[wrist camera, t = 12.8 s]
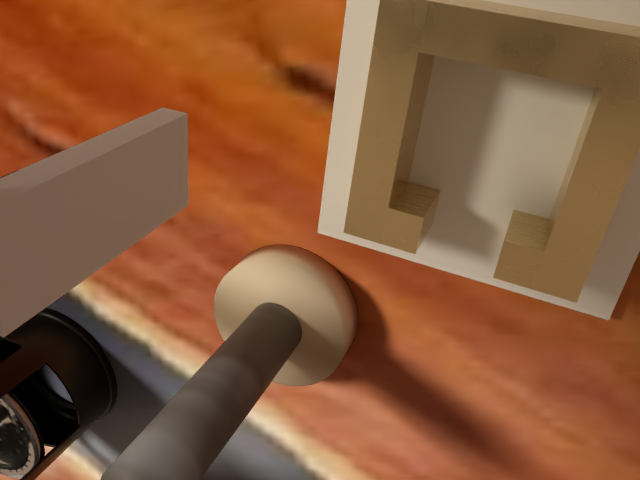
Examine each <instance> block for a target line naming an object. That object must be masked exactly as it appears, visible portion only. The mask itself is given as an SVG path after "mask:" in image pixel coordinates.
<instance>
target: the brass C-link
mask: <svg viewBox="0 0 640 480" xmlns="http://www.w3.org/2000/svg"><path fill="white" fill-rule="evenodd" d="M435 56H440V57H445V58H450V59H455V60H460V61H465V62H470V63H475V64H480V65H485V66H490V67H495V68H500V69H505V70H510V71H515V72H520V73H525V74H530V75H535V76H540V77H545V78H550V79H555V80H560V81H565V82H570V83H575V84H580V85H585V86H590V87H595V90H594V93H593V96H592V99H591V102H590V105H589V108H588V110H587V113H586V116H585V119H584V122H583V125H582V127H581V130H580V133H579V136H578V139H577V142H576V145H575V147H574V150H573V153H572V156H571V159H570V162H569V164H568V167H567V170H566V173H565V176H564V179H563V182H562V184H561V187H560V190H559V193H558V196H557V199H556V201H555V204H554V207H553V210H552V213H551V216H550V219H548V218H544V217H540V216H536V215H533V214H529V213H525V212H521V211H518V210H513V213H512V216H511V219H510V222H509V226H508V229H507V232H506V235H505V238H504V241H503V245H502V248H501V252H500V255H499V258H498V262H497V265H496V269H495V272H494V276H493V278H496V279H499V280H502V281H505V282H509V283H512V284H515V285H519V286H522V287H525V288H529V289H532V290H535V291H539V292H542V293H545V294H549V295H552V296H555V297H559V298H562V299H565V300H569V301H572V302H575V303H577V301H578V298H579V296H580V294H581V291H582V289H583V286H584V284H585V281H586V279H587V276H588V274H589V272H590V269H591V267H592V264H593V262H594V259H595V257H596V255H597V252H598V250H599V247H600V245H601V242H602V240H603V237H604V235H605V233H606V230H607V228H608V225H609V223H610V220H611V218H612V216H613V213H614V211H615V208H616V206H617V203H618V201H619V198H620V196H621V194H622V191H623V189H624V186H625V184H626V181H627V179H628V177H629V174H630V172H631V169H632V167H633V164H634V162H635V159H636V157H637V155H638V152H639V150H640V27H639V26H633V25H627V24H621V23H615V22H609V21H603V20H598V19H592V18H586V17H580V16H574V15H568V14H562V13H556V12H550V11H544V10H538V9H532V8H526V7H520V6H514V5H508V4H503V3H497V2H491V1H485V0H380V3H379V9H378V15H377V22H376V28H375V35H374V41H373V47H372V54H371V60H370V67H369V73H368V79H367V86H366V92H365V99H364V105H363V111H362V118H361V124H360V130H359V137H358V143H357V150H356V156H355V162H354V169H353V175H352V182H351V188H350V194H349V201H348V207H347V214H346V220H345V226H344V233H346V234H349V235H353V236H356V237H359V238H363V239H366V240H369V241H373V242H376V243H379V244H383V245H386V246H389V247H393V248H396V249H399V250H403V251H406V252H409V253H413V254H416V252H417V251H418V249H419V247H420V245H421V244H422V242H423V240H424V238H425V236H426V235H427V233H428V231H429V229H430V228H431V226H432V224H433V220H434V216H435V212H436V208H437V204H438V199H439V195H440V191H441V190H439V189H435V188H431V187H427V186H423V185H420V184H416V183H412V182H408V181H409V177H410V172H411V167H412V162H413V157H414V153H415V148H416V143H417V138H418V133H419V129H420V124H421V119H422V114H423V110H424V105H425V100H426V95H427V90H428V86H429V81H430V76H431V71H432V67H433V62H434V57H435Z"/></svg>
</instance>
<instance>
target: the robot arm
mask: <svg viewBox="0 0 640 480" xmlns="http://www.w3.org/2000/svg"><path fill="white" fill-rule="evenodd" d="M187 206H188V115H187V113H183V112H179V111H175V110H171V109H167V108H161V109H158V110H156V111H154V112H151V113H149V114H147V115H144V116H142V117H140V118H138V119H135V120H133V121H131V122H128V123H126V124H124V125H122V126H119V127H117V128H115V129H112V130H110V131H108V132H105V133H103V134H101V135H99V136H96V137H94V138H92V139H89V140H87V141H85V142H83V143H80V144H78V145H76V146H73V147H71V148H69V149H66V150H64V151H62V152H60V153H57V154H55V155H53V156H50V157H48V158H46V159H44V160H41V161H39V162H37V163H34V164H32V165H30V166H27V167H25V168H23V169H21V170H17V171H15V172H12V173H10V174H8V175H5V176H3V177H1V178H0V336H1V337H5V336H7V335H8V334H10V333H11V332H12V331H14V330H15V329H17V328H18V327H19V326H21V325H22V324H24V323H25V322H26V321H28V320H29V319H31V318H32V317H33V316H35V315H36V314H37V313H39V312H40V311H42V310H43V309H44V308H46V307H47V306H49V305H50V304H51V303H53V302H54V301H56V300H57V299H58V298H60V297H61V296H63V295H64V294H65V293H67V292H68V291H70V290H71V289H72V288H74V287H75V286H77V285H78V284H79V283H81V282H82V281H83V280H85V279H86V278H88V277H89V276H90V275H92V274H93V273H95V272H96V271H97V270H99V269H100V268H102V267H103V266H104V265H106V264H107V263H109V262H110V261H111V260H113V259H114V258H116V257H117V256H118V255H120V254H121V253H123V252H124V251H125V250H127V249H128V248H130V247H131V246H132V245H134V244H135V243H136V242H138V241H139V240H141V239H142V238H143V237H145V236H146V235H148V234H149V233H150V232H152V231H153V230H155V229H156V228H157V227H159V226H160V225H162V224H163V223H164V222H166V221H167V220H169V219H170V218H171V217H173V216H174V215H176V214H177V213H178V212H180V211H181V210H182V209H184V208H185V207H187Z"/></svg>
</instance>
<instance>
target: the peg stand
mask: <svg viewBox="0 0 640 480" xmlns="http://www.w3.org/2000/svg"><path fill="white" fill-rule="evenodd" d="M214 314H215V320H216V323H217V327H218V329H219V331H220V334H221V336H222V338H223V340H224V341H225V342H224V343H223V344H222V345H221V346H220V347H219V348H218V349H217V350H216V352H215V353H214V354H213V355H212V356H211V357H210V358H209V359H208V360H207V361H206V362H205V364H204V365H203V366H202V367H201V368H200V369H199V370H198V371H197V372H196V373H195V374H194V375H193V377H192V378H191V379H190V380H189V381H188V382H187V383H186V384H185V385H184V386H183V387H182V389H181V390H180V391H179V392H178V393H177V394H176V395H175V396H174V397H173V398H172V399H171V400H170V402H169V403H168V404H167V405H166V406H165V407H164V408H163V409H162V410H161V411H160V412H159V414H158V415H157V416H156V417H155V418H154V419H153V420H152V421H151V422H150V423H149V424H148V425H147V427H146V428H145V429H144V430H143V431H142V432H141V433H140V434H139V435H138V436H137V437H136V439H135V440H134V441H133V442H132V443H131V444H130V445H129V446H128V447H127V448H126V449H125V450H124V452H123V453H122V454H121V455H120V456H119V457H118V458H117V459H116V460H115V461H114V462H113V464H112V465H111V466H110V467H109V468H108V469H107V470H106V471H105V472H104V473H103V475H102V477H101V480H200V479H201V478H202V476H203V475H204V474H205V472H206V471H207V469H208V468H209V467H210V465H211V464H212V463H213V461H214V460H215V458H216V457H217V456H218V454H219V453H220V452H221V450H222V449H223V447H224V446H225V445H226V443H227V442H228V441H229V439H230V438H231V436H232V435H233V434H234V432H235V431H236V430H237V428H238V427H239V425H240V424H241V423H242V421H243V420H244V419H245V417H246V416H247V415H248V413H249V412H250V410H251V409H252V408H253V406H254V405H255V404H256V402H257V401H258V399H259V398H260V397H261V395H262V394H263V393H264V391H265V390H266V388H267V387H268V386H269V384H270V383H271V382H272V381H273V382H276V383H279V384H284V385H289V386H307V385H312V384H315V383H318V382H320V381H322V380H324V379H326V378H327V377H329V376H330V375H331V374H332V373H333V372H334V371H335V370H336V368H337V367H338V365H339V364H340V362H341V360H342V359H343V357H344V355H345V354H346V352H347V350H348V349H349V347H350V345H351V344H352V342H353V340H354V338H355V335H356V331H357V327H358V312H357V307H356V303H355V300H354V297H353V295H352V292H351V290H350V288H349V287H348V285H347V283H346V282H345V280H344V279H343V278H342V277H341V275H340V274H339V273H338V272H337V271H336V270H335V269H334V268H333V267H332V266H331V265H330V264H329V263H327V262H326V261H325V260H324V259H322V258H320V257H319V256H317V255H316V254H314V253H312V252H310V251H308V250H305V249H302V248H300V247H295V246H291V245H283V244H275V245H268V246H264V247H261V248H258V249H256V250H254V251H253V252H251V253H250V254H249V255H247V256H246V257H245V258H244V259H243V260H242V261H241V262H240V263H238V264H237V265H236V266H235V267H234V268H233V269H232V270H231V271H230V272H229V273H227V275H226V276H225V277H224V278H223V279H222V280H221V282H220V283H219V285H218V288H217V290H216V293H215V298H214Z"/></svg>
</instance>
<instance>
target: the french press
mask: <svg viewBox="0 0 640 480" xmlns="http://www.w3.org/2000/svg"><path fill="white" fill-rule="evenodd" d="M21 346H22V348H21ZM45 364H47V365H48V366H49V367H50V369H51V370H52V371H53V372H54V373H55V374H56V375H57V377H58V378H59V379H60V380H61V382H62V383H63V384H64V386H65V388H66V390H67V391H68V393H69V395H70V397H71V399H72V401H73V404H74V405H71V404H68V403H65V402H63V401H61V400H59V399H58V398H56V397H55V396H53V395H52V394H50V393H49V392H48V391H47V390H46V389H44V388H43V386H42V385H41V384H40V383H39V382H38V381H37V380H36V379H35V377H34V376H33V375H32V374H33V373H34V372H36V371H37V370H38V369H40V368H41V367H42V366H43V365H45ZM116 396H117V386H116V381H115V376H114V373H113V371H112V368H111V365H110V363H109V361H108V360H107V358H106V356H105V354H104V353H103V351H102V350H101V348H100V347H99V346H98V344H97V343H96V342H95V341H94V340H93V338H92V337H91V336H90V335H89V334H88V333H87V332H86V331H85V330H84V329H82V328H81V327H80V326H79V325H78V324H77V323H75V322H74V321H72V320H71V319H69V318H68V317H66V316H65V315H62V314H60V313H58V312H56V311H54V310H50V309H47V308H44V309H43V310H42V311H40V312H39V313H37V314H36V315H35V316H33V317H32V318H31V319H29V320H28V321H26V322H25V323H24V324H22V325H21V326H19V327H18V328H17V329H15V330H14V331H12V332H11V333H10V334H8V335H7V336H5V337H1V336H0V473H1V474H3V475H5V476H8V477H13V478H21V479H20V480H35V479H36V478H37V477H38V476H39V475H40V474H41V473H42V472H43V471H44V470H45V469H46V468H47V467H48V466H49V465H50V464H51V463H52V462H53V461H54V460H55V459H56V458H57V457H58V456H59V455H60V454H61V453H63V452H64V451H65V450H66V449H67V448H68V447H69V446H70V445H71V444H72V443H73V442H74V441H75V440H76V439H77V438H78V437H79V436H80V435H81V434H82V433H83V432H84V431H85V430H86V429H87V428H88V427H90V426H91V425H92V424H93V423H94V422H95V421H96V420H99V419H101V418H103V417H104V416H105V415H106V414H108V413H109V412H110V410H111V409H112V407H113V406H114V404H115V400H116ZM44 445H45V446H50V447H54V448H53V449H52V450H51V451H50V452H49V453H48V454H47V455H46V456H45V449H44ZM44 456H45V457H44Z"/></svg>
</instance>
